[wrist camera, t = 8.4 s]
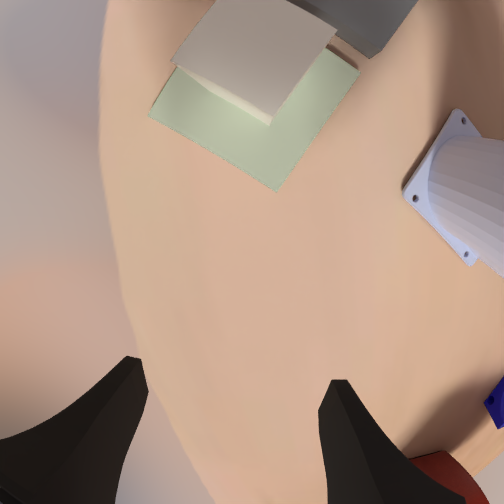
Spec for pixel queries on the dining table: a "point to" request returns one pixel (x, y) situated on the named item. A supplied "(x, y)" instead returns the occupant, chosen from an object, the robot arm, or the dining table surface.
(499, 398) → the cable clip
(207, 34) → the plug
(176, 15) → the dining table surface
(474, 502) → the plant pot
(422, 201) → the robot arm
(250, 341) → the dining table surface
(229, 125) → the mat
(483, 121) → the dining table surface
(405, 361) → the dining table surface
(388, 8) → the gray square hole board
